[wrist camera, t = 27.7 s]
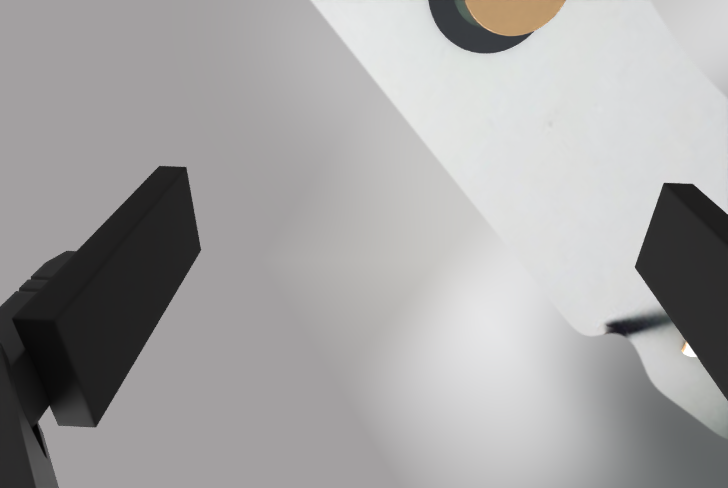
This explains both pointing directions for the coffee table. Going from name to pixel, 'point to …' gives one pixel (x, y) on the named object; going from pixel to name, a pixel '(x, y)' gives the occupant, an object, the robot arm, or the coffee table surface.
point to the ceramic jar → (509, 14)
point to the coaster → (469, 30)
